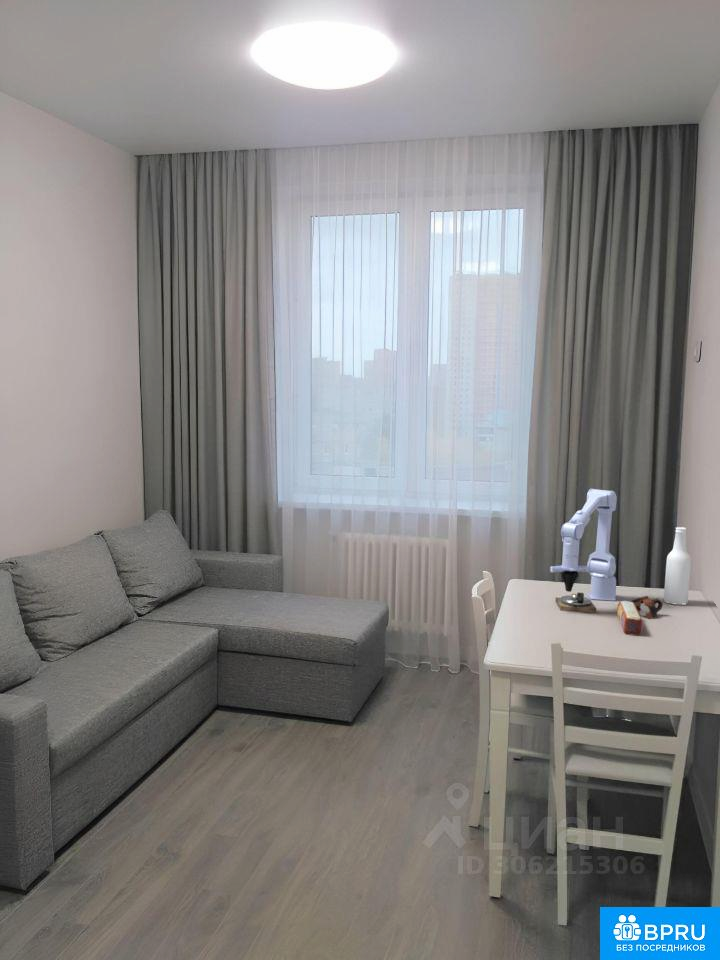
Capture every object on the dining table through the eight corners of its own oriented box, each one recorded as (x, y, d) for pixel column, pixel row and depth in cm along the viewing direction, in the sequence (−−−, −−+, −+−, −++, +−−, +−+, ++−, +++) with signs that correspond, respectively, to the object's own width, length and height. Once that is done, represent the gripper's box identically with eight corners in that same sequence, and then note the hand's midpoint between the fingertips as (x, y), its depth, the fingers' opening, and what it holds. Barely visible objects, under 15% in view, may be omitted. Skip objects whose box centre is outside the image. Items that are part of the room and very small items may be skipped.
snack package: (642, 636, 259) (644, 617, 258) (622, 634, 260) (623, 615, 259) (635, 619, 279) (636, 601, 279) (616, 617, 281) (617, 599, 280)
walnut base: (589, 603, 299) (589, 599, 299) (596, 612, 286) (596, 608, 286) (555, 601, 300) (555, 597, 300) (560, 610, 287) (560, 606, 287)
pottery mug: (641, 621, 278) (632, 599, 281) (631, 625, 287) (622, 604, 290) (671, 612, 280) (662, 590, 283) (660, 616, 289) (651, 595, 292)
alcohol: (660, 599, 308) (666, 525, 305) (683, 600, 308) (689, 526, 304) (667, 605, 300) (673, 529, 296) (690, 606, 299) (696, 530, 296)
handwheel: (556, 598, 298) (557, 586, 298) (584, 598, 299) (585, 586, 298) (566, 606, 287) (567, 593, 286) (595, 606, 288) (596, 594, 287)
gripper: (556, 557, 281) (554, 593, 282) (593, 557, 283) (591, 593, 284) (548, 553, 288) (546, 589, 289) (585, 553, 290) (583, 588, 291)
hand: (568, 590), depth 287 cm, fingers closed
